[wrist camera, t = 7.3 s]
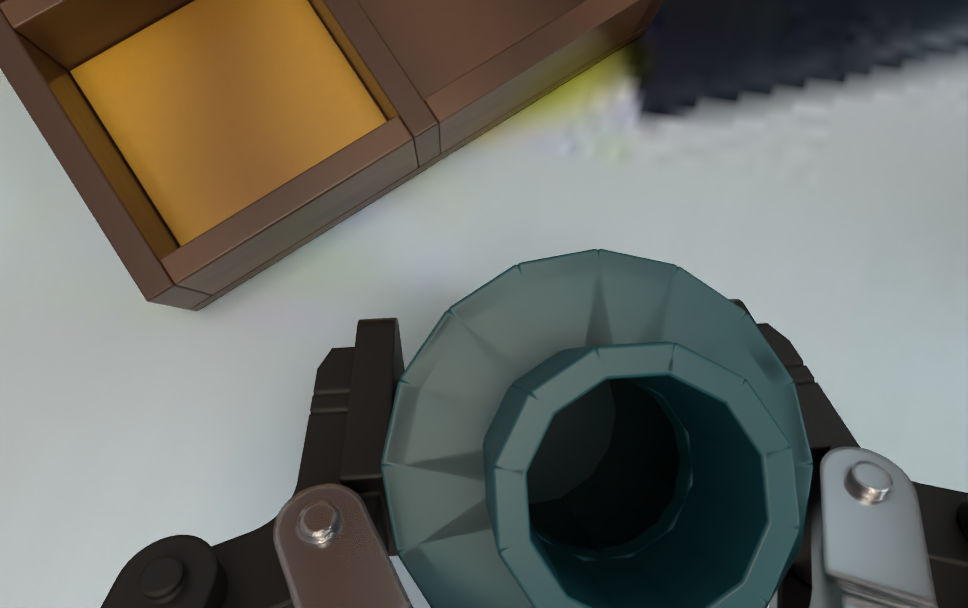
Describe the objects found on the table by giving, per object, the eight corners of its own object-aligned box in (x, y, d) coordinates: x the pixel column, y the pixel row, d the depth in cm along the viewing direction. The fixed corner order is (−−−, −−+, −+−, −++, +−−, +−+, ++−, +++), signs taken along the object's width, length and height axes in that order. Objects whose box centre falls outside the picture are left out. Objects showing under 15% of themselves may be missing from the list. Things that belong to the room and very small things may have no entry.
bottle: (549, 272, 18) (713, 117, 7) (659, 437, 18) (1031, 574, 6) (383, 380, 18) (250, 418, 6) (494, 552, 17) (573, 929, 6)
